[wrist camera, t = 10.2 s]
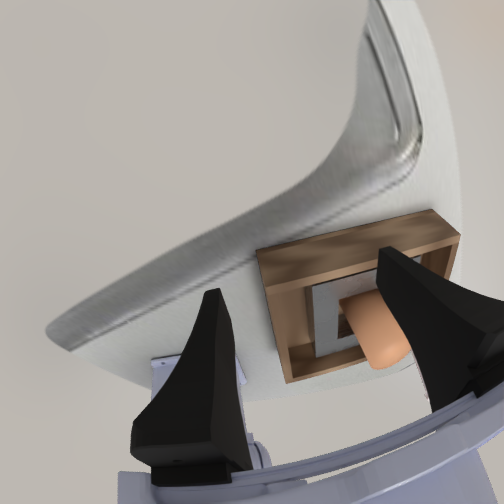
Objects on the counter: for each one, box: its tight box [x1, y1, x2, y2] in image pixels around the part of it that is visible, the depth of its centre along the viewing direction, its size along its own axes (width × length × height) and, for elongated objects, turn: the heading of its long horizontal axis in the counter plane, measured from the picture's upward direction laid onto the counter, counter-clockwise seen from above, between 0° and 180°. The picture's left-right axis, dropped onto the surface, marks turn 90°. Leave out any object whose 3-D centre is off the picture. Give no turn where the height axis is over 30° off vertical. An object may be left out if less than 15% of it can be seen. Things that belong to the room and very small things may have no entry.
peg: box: [339, 288, 411, 370], centre depth 25 cm, size 4×4×8 cm
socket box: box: [256, 209, 461, 384], centre depth 27 cm, size 17×14×4 cm
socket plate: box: [304, 255, 421, 358], centre depth 27 cm, size 10×10×3 cm
